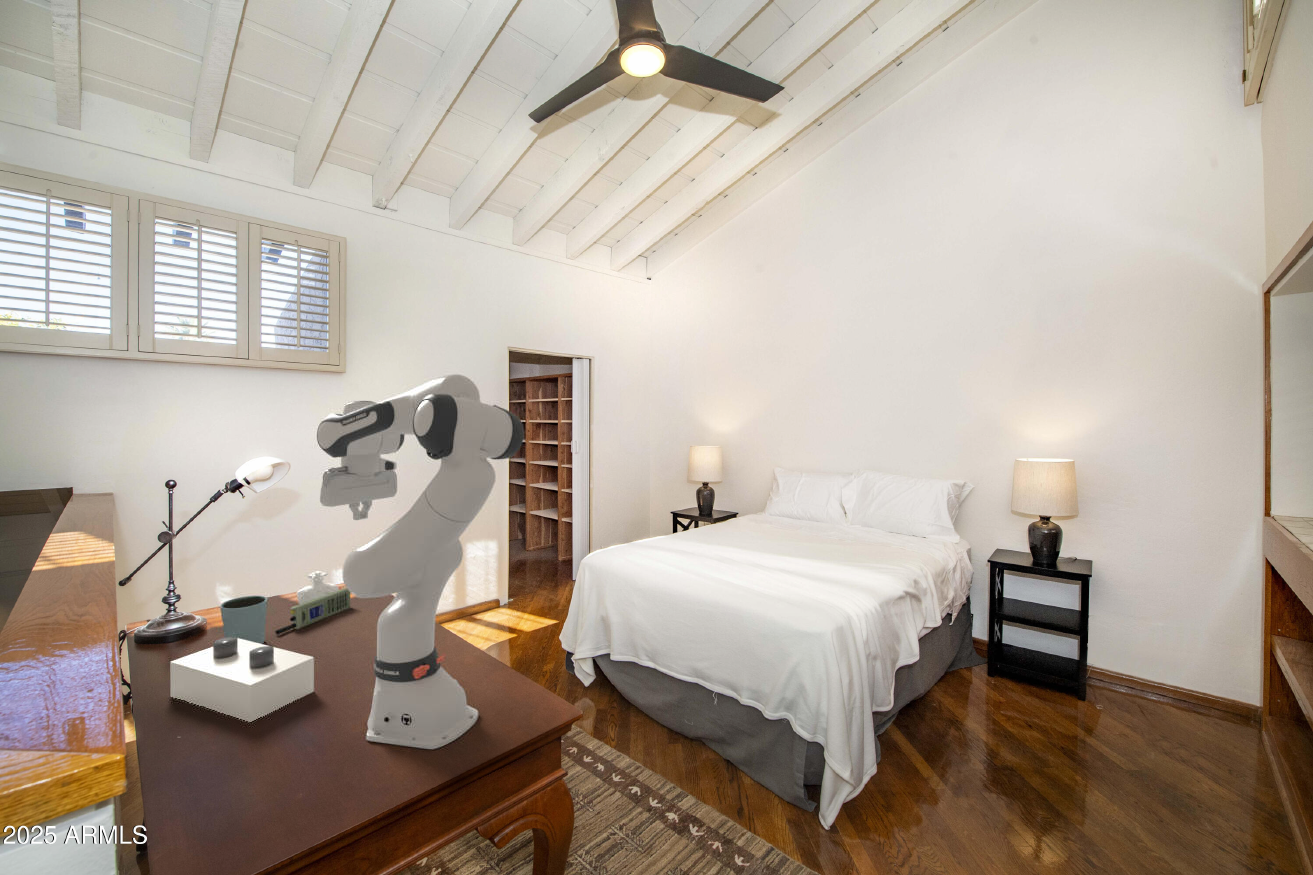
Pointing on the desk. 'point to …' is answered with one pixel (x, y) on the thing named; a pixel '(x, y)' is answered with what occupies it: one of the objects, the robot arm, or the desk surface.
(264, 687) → the control block
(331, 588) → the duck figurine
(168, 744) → the desk surface
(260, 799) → the desk surface
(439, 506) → the robot arm
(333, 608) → the handheld radio
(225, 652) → the knob
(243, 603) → the teal plant pot
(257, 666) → the knob
